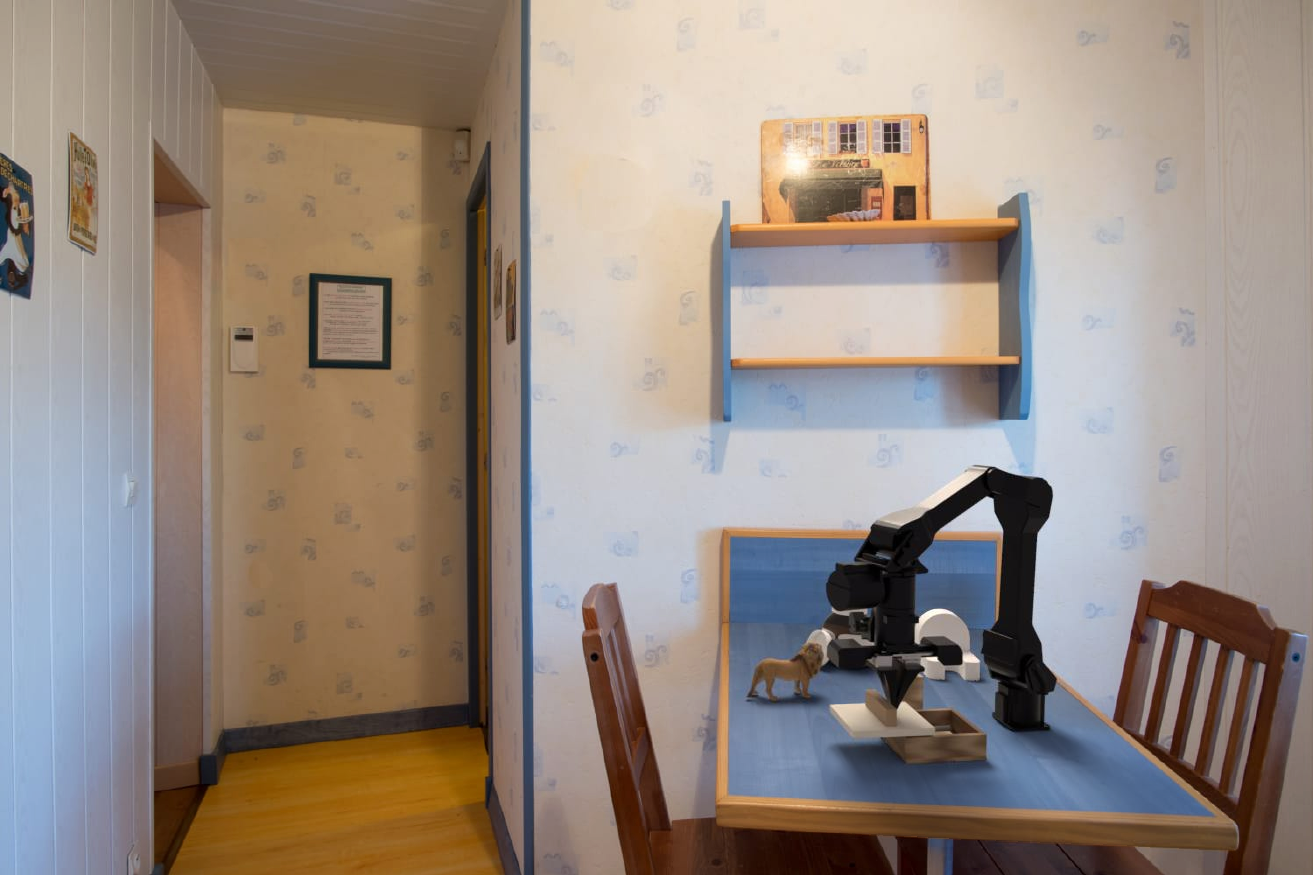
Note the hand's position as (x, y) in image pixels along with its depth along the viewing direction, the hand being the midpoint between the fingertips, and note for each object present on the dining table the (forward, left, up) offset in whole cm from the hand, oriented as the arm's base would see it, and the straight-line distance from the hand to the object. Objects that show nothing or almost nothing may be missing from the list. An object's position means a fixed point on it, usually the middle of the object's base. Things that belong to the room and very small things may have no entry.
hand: (893, 709), depth 118 cm
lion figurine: (+9, -23, -6) cm, 26 cm away
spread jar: (-5, -38, -6) cm, 39 cm away
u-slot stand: (-25, -36, -6) cm, 45 cm away
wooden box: (-6, 0, -6) cm, 8 cm away
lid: (+2, 0, -2) cm, 3 cm away
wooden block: (-7, -12, -6) cm, 15 cm away
